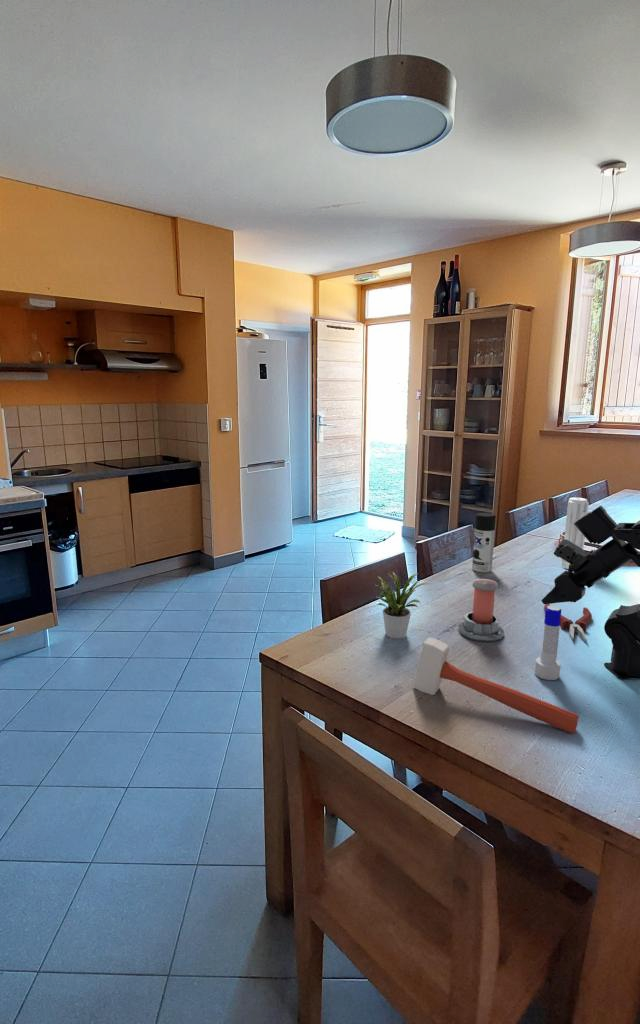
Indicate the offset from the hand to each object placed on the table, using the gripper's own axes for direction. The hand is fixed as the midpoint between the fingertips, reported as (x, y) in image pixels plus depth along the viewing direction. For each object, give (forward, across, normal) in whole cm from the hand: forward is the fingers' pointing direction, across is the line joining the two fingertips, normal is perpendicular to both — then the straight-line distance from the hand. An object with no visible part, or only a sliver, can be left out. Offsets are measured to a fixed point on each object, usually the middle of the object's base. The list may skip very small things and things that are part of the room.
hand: (548, 596), depth 125 cm
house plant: (+32, +13, -13) cm, 37 cm away
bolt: (+7, +12, +13) cm, 19 cm away
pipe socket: (+20, 0, -2) cm, 21 cm away
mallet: (+11, +32, +9) cm, 35 cm away
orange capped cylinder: (+20, 0, -2) cm, 20 cm away
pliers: (+10, -19, +10) cm, 24 cm away
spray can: (+34, -49, -15) cm, 62 cm away
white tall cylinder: (+17, -72, +2) cm, 74 cm away
